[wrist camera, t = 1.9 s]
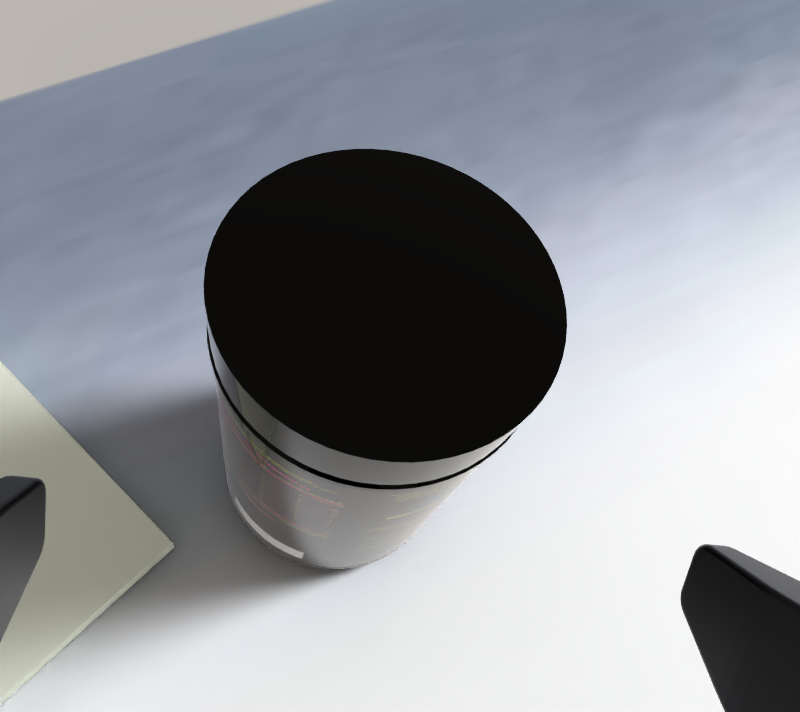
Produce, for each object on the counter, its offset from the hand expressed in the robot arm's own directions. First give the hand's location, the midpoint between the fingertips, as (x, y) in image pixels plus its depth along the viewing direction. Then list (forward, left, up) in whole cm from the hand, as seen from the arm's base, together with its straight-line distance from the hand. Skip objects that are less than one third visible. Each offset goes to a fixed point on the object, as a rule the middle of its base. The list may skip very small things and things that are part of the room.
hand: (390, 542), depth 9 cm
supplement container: (+4, +3, -12) cm, 13 cm away
